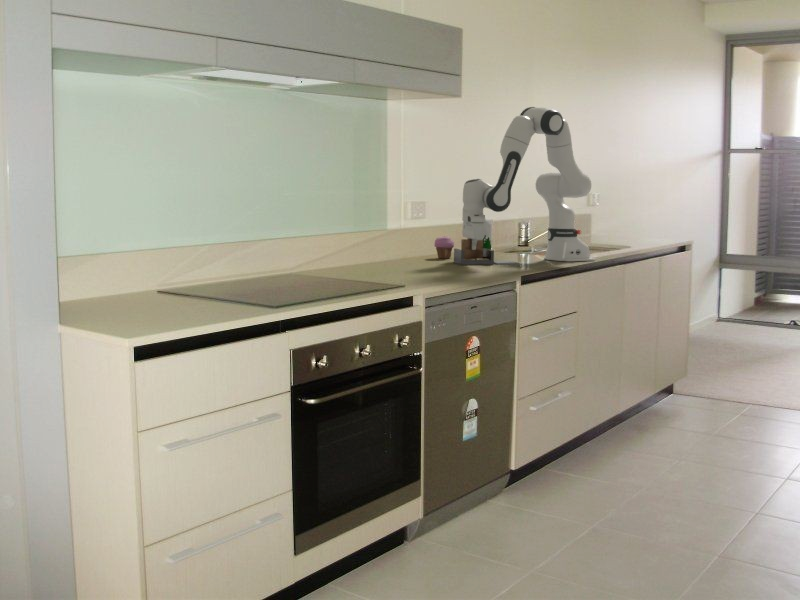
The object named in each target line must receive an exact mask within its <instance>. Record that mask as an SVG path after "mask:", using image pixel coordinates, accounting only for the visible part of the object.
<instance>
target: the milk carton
mask: <svg viewBox="0 0 800 600" xmlns="http://www.w3.org/2000/svg"><path fill="white" fill-rule="evenodd" d="M483 215H484V217H485V222H484V236H483V248H486V249H490V250H492V241H493V238H492V237H493V224H494V223H493V221H494V220H493V219H489V218H488V219H487V218H486V215H485V214H483Z"/></svg>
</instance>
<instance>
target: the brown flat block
mask: <svg viewBox="0 0 800 600" xmlns="http://www.w3.org/2000/svg"><path fill="white" fill-rule="evenodd" d="M460 243H461V244H460V245H461V246H460V247H461V249H460V250H463V251H464V258H483V240H477V245H476V250H472V249H471V245H472V239H468V238H465V239H461V241H460Z"/></svg>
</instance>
